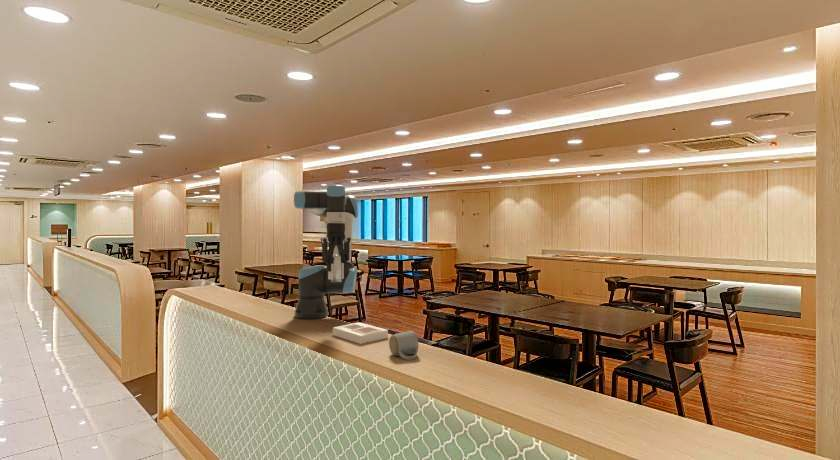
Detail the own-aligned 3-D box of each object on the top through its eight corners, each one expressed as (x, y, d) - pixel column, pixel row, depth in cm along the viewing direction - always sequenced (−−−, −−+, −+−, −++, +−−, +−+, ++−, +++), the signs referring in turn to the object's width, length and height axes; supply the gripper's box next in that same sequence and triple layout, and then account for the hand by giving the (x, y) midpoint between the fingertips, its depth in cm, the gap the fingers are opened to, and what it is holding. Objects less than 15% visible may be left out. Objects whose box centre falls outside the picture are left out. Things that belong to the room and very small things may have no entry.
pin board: (332, 335, 181) (332, 326, 181) (359, 329, 190) (359, 321, 190) (360, 344, 168) (360, 335, 168) (387, 337, 177) (388, 329, 177)
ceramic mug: (387, 353, 157) (387, 330, 157) (409, 350, 161) (409, 328, 160) (400, 362, 147) (400, 338, 147) (423, 359, 151) (423, 335, 151)
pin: (331, 280, 194) (331, 254, 193) (342, 280, 194) (342, 254, 193) (329, 282, 189) (329, 255, 189) (340, 282, 189) (340, 255, 189)
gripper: (322, 222, 182) (322, 281, 183) (358, 222, 194) (358, 277, 195) (312, 222, 187) (312, 279, 188) (347, 222, 200) (347, 276, 200)
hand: (335, 278), depth 191 cm, fingers closed on pin, 4 cm apart
